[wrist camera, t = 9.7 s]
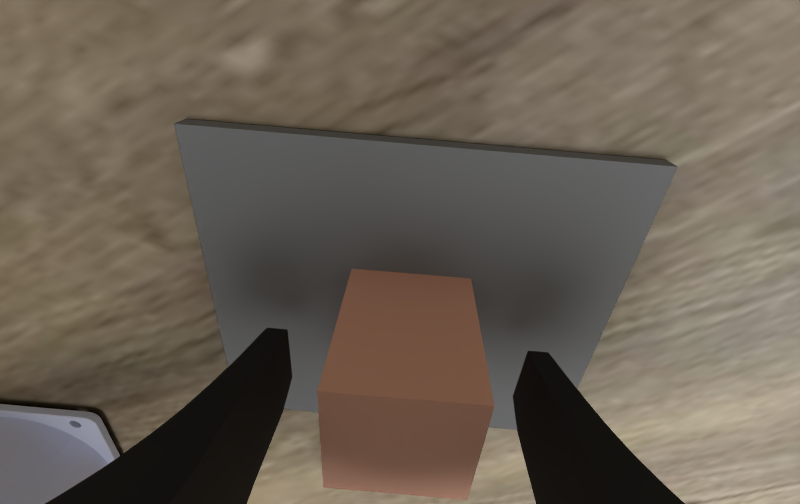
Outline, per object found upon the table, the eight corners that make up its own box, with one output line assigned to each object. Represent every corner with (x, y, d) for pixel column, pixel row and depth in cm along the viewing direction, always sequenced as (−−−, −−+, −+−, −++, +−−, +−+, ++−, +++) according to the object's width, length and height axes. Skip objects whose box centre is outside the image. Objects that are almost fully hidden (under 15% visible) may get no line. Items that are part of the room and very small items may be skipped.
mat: (241, 393, 18) (236, 404, 17) (185, 118, 11) (173, 123, 11) (552, 421, 18) (556, 433, 17) (666, 160, 11) (677, 166, 11)
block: (351, 354, 15) (323, 487, 11) (351, 268, 13) (316, 390, 9) (454, 362, 15) (467, 499, 11) (471, 278, 13) (494, 406, 9)
